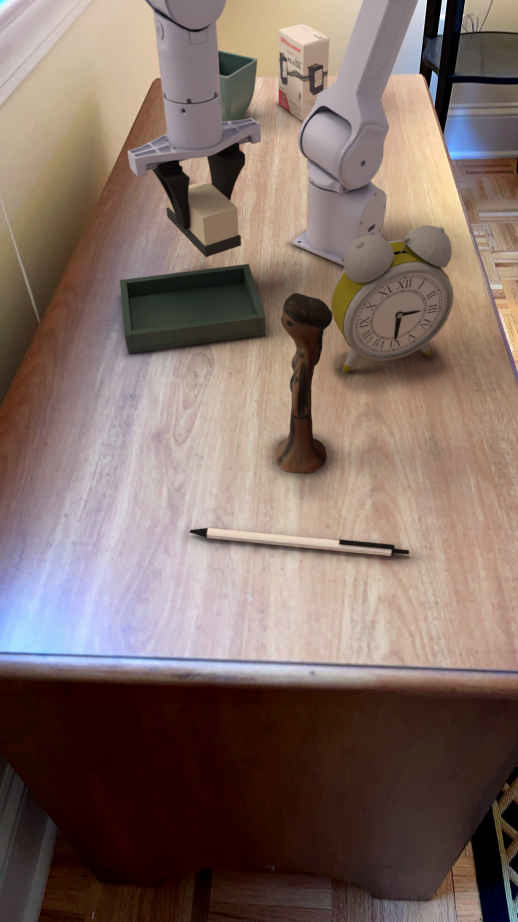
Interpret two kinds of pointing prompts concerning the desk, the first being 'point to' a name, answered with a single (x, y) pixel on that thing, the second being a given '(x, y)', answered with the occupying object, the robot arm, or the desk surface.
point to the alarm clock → (393, 294)
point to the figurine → (303, 382)
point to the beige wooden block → (209, 220)
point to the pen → (300, 541)
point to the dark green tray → (191, 308)
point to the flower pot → (236, 84)
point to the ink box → (302, 68)
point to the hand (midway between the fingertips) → (202, 218)
